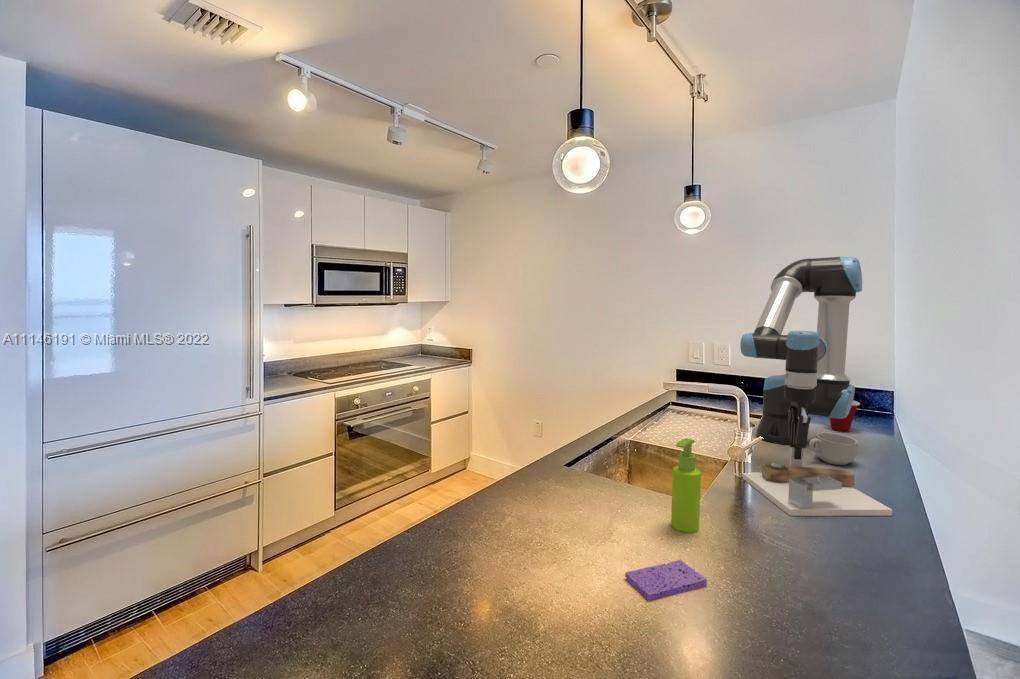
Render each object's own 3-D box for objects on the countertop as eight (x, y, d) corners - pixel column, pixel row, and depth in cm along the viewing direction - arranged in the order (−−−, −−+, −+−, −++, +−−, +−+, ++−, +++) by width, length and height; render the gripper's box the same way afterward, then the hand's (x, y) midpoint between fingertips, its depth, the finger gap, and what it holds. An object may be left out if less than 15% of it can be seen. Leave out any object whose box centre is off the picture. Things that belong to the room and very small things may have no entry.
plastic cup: (856, 435, 173) (858, 404, 172) (821, 430, 181) (823, 399, 180) (860, 429, 181) (862, 399, 180) (826, 424, 189) (828, 395, 188)
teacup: (842, 456, 151) (844, 432, 150) (864, 468, 140) (866, 442, 140) (797, 455, 152) (798, 431, 152) (815, 467, 142) (817, 441, 141)
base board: (741, 477, 134) (741, 472, 133) (825, 477, 133) (825, 472, 133) (789, 515, 110) (790, 509, 110) (892, 515, 110) (892, 509, 110)
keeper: (787, 507, 114) (789, 478, 114) (826, 505, 116) (828, 476, 115) (800, 515, 110) (801, 485, 110) (839, 512, 112) (841, 482, 111)
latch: (767, 481, 126) (767, 467, 126) (760, 473, 132) (761, 460, 131) (855, 487, 122) (856, 473, 121) (844, 479, 127) (845, 466, 127)
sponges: (707, 589, 83) (707, 579, 83) (647, 604, 79) (648, 594, 79) (680, 567, 90) (680, 558, 90) (624, 581, 86) (624, 571, 86)
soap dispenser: (664, 527, 104) (666, 440, 103) (678, 517, 109) (681, 434, 107) (689, 537, 100) (692, 446, 98) (703, 526, 105) (706, 439, 103)
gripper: (778, 381, 137) (774, 460, 139) (791, 390, 125) (786, 475, 127) (808, 383, 135) (803, 462, 137) (823, 391, 122) (818, 479, 124)
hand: (795, 469), depth 132 cm, fingers closed
